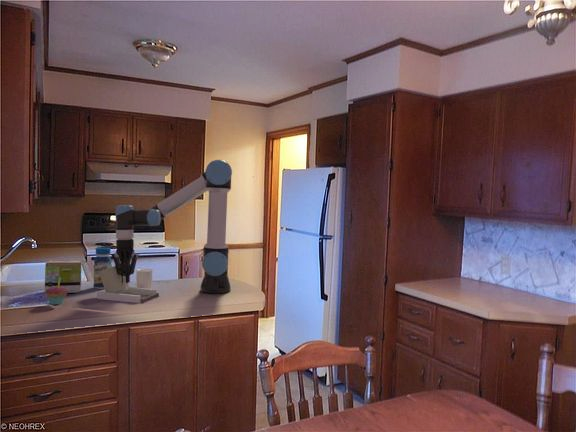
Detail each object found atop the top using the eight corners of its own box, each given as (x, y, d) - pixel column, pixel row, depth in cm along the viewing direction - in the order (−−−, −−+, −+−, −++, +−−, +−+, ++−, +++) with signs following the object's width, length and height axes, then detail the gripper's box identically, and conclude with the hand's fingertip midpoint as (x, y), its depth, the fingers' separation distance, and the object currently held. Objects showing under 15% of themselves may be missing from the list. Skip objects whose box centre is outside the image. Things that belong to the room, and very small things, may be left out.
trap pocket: (158, 296, 201) (158, 292, 201) (143, 302, 188) (143, 299, 188) (147, 295, 202) (147, 291, 202) (131, 301, 189) (131, 298, 189)
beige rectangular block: (131, 287, 201) (122, 263, 201) (118, 291, 192) (109, 266, 192) (115, 292, 203) (107, 269, 204) (102, 297, 194) (93, 272, 195)
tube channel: (156, 295, 202) (156, 289, 202) (139, 303, 187) (139, 296, 187) (116, 292, 206) (116, 285, 206) (96, 298, 192) (96, 292, 191)
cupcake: (71, 302, 185) (72, 274, 184) (56, 306, 176) (57, 277, 176) (54, 300, 186) (55, 273, 186) (39, 304, 178) (39, 276, 178)
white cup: (149, 292, 209) (149, 272, 208) (133, 291, 209) (133, 271, 208) (154, 288, 216) (154, 269, 216) (139, 288, 217) (139, 268, 216)
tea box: (44, 294, 196) (44, 262, 195) (46, 289, 205) (47, 259, 205) (80, 292, 202) (81, 261, 202) (81, 288, 211) (81, 258, 211)
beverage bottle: (114, 286, 219) (115, 247, 218) (104, 289, 210) (105, 249, 209) (99, 285, 220) (100, 246, 219) (89, 288, 212) (90, 248, 211)
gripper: (141, 238, 198) (142, 288, 199) (117, 238, 201) (118, 287, 201) (132, 239, 191) (133, 291, 191) (107, 239, 193) (108, 291, 194)
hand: (125, 289), depth 196 cm, fingers closed
